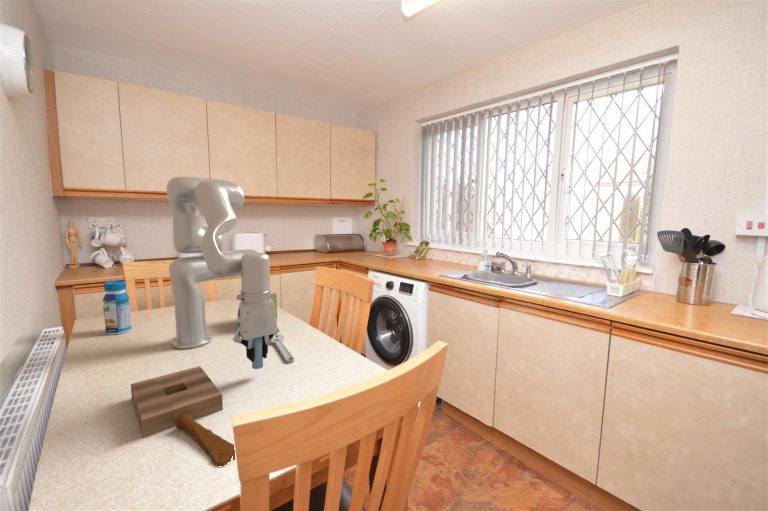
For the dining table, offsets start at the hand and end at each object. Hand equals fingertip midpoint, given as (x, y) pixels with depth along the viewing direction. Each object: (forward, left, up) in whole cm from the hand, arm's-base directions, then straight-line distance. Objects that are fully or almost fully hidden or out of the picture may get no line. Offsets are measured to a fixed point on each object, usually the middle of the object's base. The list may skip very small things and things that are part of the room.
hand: (257, 357), depth 98 cm
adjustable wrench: (-15, +14, -7) cm, 22 cm away
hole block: (+1, -21, -6) cm, 22 cm away
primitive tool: (+21, -19, -7) cm, 29 cm away
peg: (0, 0, -3) cm, 3 cm away
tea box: (-46, +19, -6) cm, 51 cm away
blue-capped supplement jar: (-72, -27, -6) cm, 78 cm away
